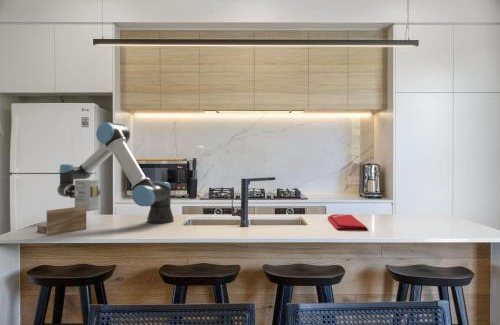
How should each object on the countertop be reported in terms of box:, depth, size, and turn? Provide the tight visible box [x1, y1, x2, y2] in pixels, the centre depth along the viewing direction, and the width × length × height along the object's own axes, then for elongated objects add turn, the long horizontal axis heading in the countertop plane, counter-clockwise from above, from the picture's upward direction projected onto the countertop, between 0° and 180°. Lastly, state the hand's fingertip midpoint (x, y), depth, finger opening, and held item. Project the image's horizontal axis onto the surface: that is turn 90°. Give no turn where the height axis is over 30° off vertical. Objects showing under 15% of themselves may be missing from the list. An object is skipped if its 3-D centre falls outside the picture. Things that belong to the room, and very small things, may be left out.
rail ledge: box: [37, 206, 87, 237], centre depth 217 cm, size 15×22×12 cm
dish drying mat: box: [327, 213, 369, 232], centre depth 237 cm, size 16×41×4 cm, turn 177°
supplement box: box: [74, 179, 100, 212], centre depth 235 cm, size 10×9×17 cm
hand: (89, 193), depth 233 cm, fingers closed on supplement box, 12 cm apart
